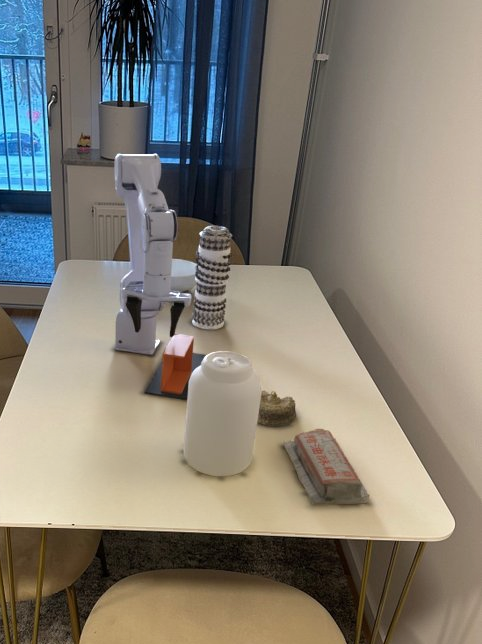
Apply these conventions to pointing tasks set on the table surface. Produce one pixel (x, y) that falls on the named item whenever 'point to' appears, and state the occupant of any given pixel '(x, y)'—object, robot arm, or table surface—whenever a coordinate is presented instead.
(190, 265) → the cereal bowl
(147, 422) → the table surface
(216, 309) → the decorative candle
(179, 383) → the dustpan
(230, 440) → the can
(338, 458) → the packaged product
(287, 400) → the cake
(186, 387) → the mat
